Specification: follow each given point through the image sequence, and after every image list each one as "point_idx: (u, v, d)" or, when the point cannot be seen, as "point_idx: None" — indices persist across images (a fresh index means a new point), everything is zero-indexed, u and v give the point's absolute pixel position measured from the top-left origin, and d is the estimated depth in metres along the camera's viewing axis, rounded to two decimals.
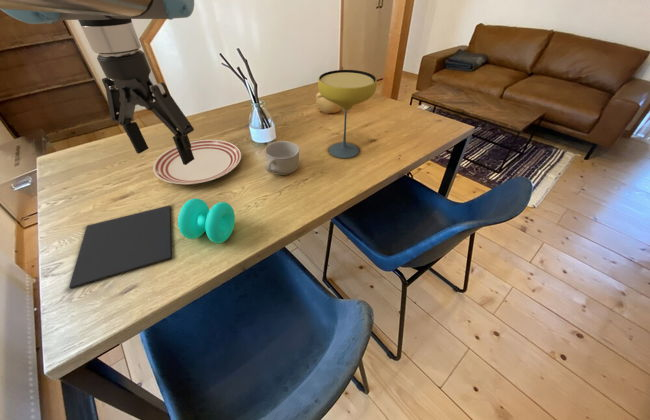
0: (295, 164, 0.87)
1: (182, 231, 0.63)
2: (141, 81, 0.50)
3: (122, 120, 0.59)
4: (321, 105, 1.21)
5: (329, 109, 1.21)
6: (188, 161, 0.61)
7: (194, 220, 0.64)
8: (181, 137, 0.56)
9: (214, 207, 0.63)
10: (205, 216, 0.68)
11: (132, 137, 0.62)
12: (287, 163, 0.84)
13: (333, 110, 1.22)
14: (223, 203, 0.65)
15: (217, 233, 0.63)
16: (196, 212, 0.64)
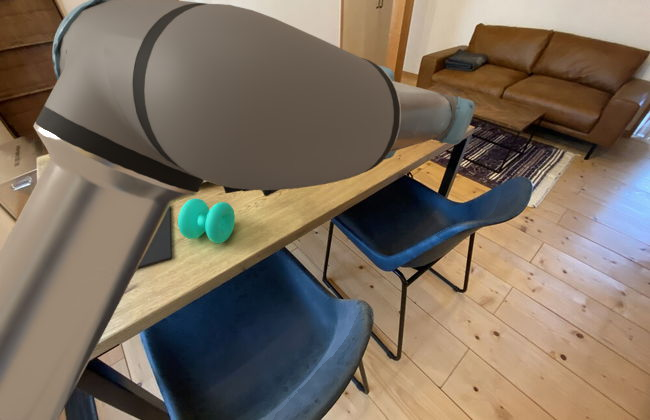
0: None
1: (182, 231, 0.63)
2: None
3: None
4: None
5: None
6: (224, 186, 0.52)
7: (194, 220, 0.64)
8: None
9: (214, 207, 0.63)
10: (205, 216, 0.68)
11: None
12: None
13: None
14: (223, 203, 0.65)
15: (217, 233, 0.63)
16: (196, 212, 0.64)
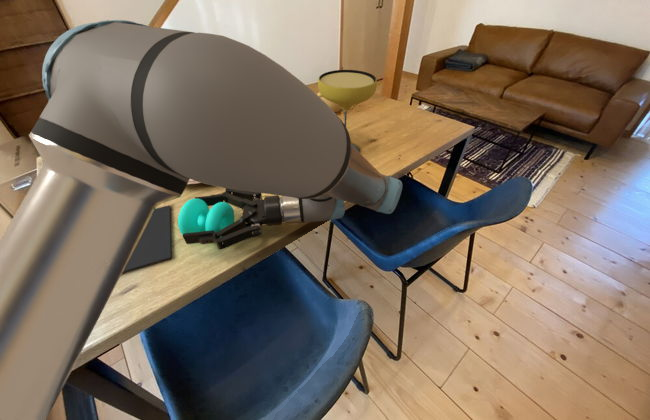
0: None
1: (182, 231, 0.63)
2: (262, 219, 0.64)
3: (227, 195, 0.70)
4: None
5: None
6: (185, 238, 0.61)
7: (194, 220, 0.64)
8: (213, 237, 0.60)
9: (214, 207, 0.63)
10: (205, 216, 0.68)
11: (210, 198, 0.70)
12: None
13: (333, 110, 1.22)
14: (223, 203, 0.65)
15: None
16: (195, 212, 0.64)
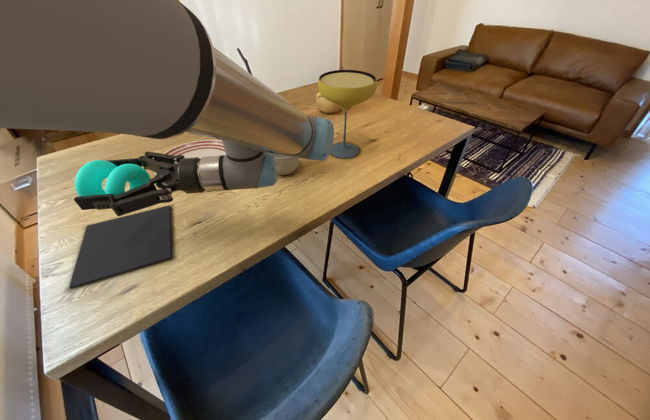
0: (295, 164, 0.87)
1: None
2: (175, 183, 0.55)
3: (143, 159, 0.61)
4: (321, 105, 1.21)
5: (329, 109, 1.21)
6: (78, 202, 0.51)
7: (95, 183, 0.55)
8: (110, 201, 0.51)
9: (116, 168, 0.54)
10: None
11: (124, 162, 0.61)
12: (287, 163, 0.84)
13: (333, 110, 1.22)
14: (131, 164, 0.56)
15: None
16: (98, 174, 0.55)
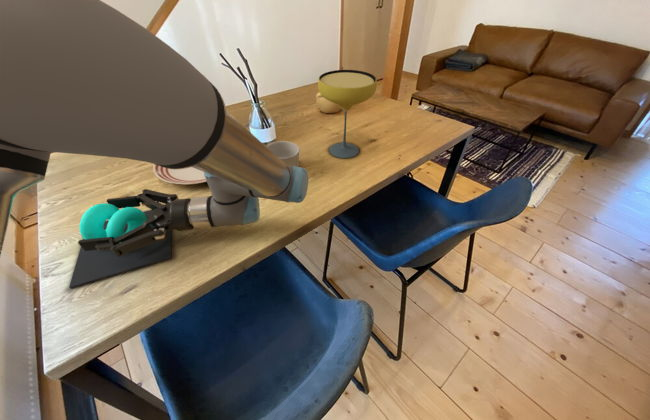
0: (295, 164, 0.87)
1: (84, 237, 0.61)
2: (168, 223, 0.62)
3: (141, 197, 0.68)
4: (321, 105, 1.21)
5: (329, 109, 1.21)
6: (82, 245, 0.58)
7: (97, 226, 0.62)
8: (110, 244, 0.57)
9: (116, 213, 0.61)
10: None
11: (124, 200, 0.68)
12: (287, 163, 0.84)
13: (333, 110, 1.22)
14: (129, 208, 0.63)
15: None
16: (99, 218, 0.62)
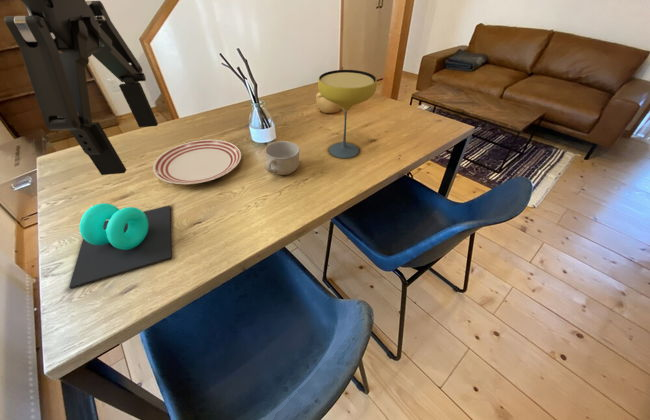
0: (295, 164, 0.87)
1: (84, 237, 0.61)
2: (26, 6, 0.26)
3: None
4: (321, 105, 1.21)
5: (329, 109, 1.21)
6: (108, 172, 0.35)
7: (97, 226, 0.62)
8: None
9: (116, 213, 0.61)
10: None
11: (129, 102, 0.42)
12: (287, 163, 0.84)
13: (333, 110, 1.22)
14: (129, 208, 0.63)
15: (119, 239, 0.60)
16: (100, 218, 0.62)
